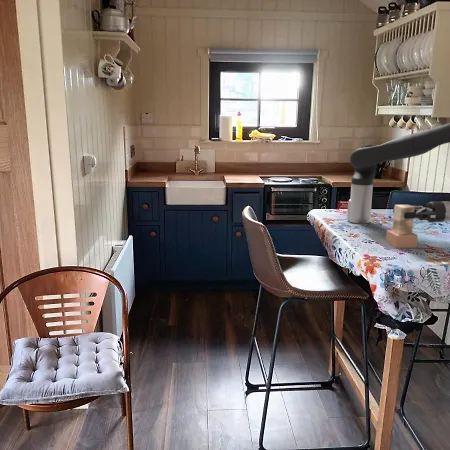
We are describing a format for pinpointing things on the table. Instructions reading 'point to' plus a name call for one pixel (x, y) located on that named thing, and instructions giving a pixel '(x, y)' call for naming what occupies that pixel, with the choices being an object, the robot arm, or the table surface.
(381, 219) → the table surface
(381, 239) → the build mat
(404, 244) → the base block
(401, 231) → the pillar
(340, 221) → the table surface
